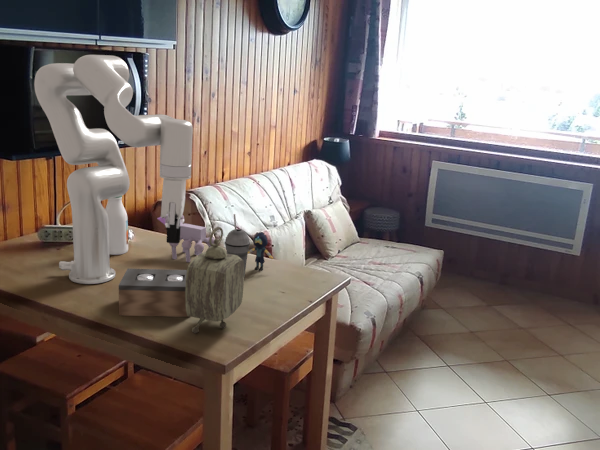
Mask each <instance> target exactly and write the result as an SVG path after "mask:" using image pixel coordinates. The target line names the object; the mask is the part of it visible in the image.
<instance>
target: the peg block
mask: <svg viewBox="0 0 600 450" xmlns="http://www.w3.org/2000/svg"><path fill="white" fill-rule="evenodd" d="M141 274H151V275H153V281H148V280H137V276H138V275H141ZM186 274H187V269H156V268H129V267H128V268H127V269H126V271H125V272H124V274H123V275H122V278H121V280H120V282H119V283H118V314H119V315H118V316H122V317H123V316H125V317H127V316H130V317H133V316H135V317H136V316H137V317H172V318H174V317H175V318H176V317H177V318H178V317H180V318H182V317H183V318H186V317H187V318H189V317H190V316H187V313H186V300H185V289H186ZM170 275H181V276H183V281H167V277H168V276H170Z"/></svg>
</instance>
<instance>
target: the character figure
mask: <svg viewBox="0 0 600 450" xmlns="http://www.w3.org/2000/svg"><path fill="white" fill-rule="evenodd" d="M252 243H253V245H254V246H255V247H253V248H251V249H248V254H247V255H249V254H251V253H253V252H255V251H256V252H255V256H256V257H255V261H254V262H255V263H256V266H255V267H254V270H255V271H257V270H258V271H259V272H261V271H263V270H264V263H265V254H266V255H267V256H268V257H269V259H271V260H273V259H274V257H273V256H272V255H271V253H270V252H269V251H268V249H266V246H267V245H268V244H269V241H268V238H267V235H266V234H264V232H258V233H257V234H255V236H253V240H252ZM264 253H265V254H264Z"/></svg>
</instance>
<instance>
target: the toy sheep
mask: <svg viewBox="0 0 600 450" xmlns="http://www.w3.org/2000/svg"><path fill="white" fill-rule="evenodd" d="M156 219H157V220H158V221H159V222H161V223H162V225H164V226H165V228H166V229H167V227H168V213H167V215H166V217H164V218H162V217H161V216H159V217H157V218H156ZM180 227H181V231H180V241H182V240H183V241H182V242H181V247H182V253H185V254H184V255H185V261H186V263H190V262H191V251H190V249H191V248H192V243H193V241H194V243H195V244H194V246H193V248H194V252H193V254H194V255H195V256H198V255H200V254H202V253H203V251H204V249H205V245H204V244H203V242H204V243H205V244H206V245H207V246H208V248H209V247H211V245H210V242H209V240H210V236H208V237H207V227H206V226H200V225H197V224H196V225H195V224H190V223H185V216H184V215H183V214H182V217H181V218H180ZM215 239H216V238H214V237H213V236H212V240H211V242H212V244H214V240H215ZM168 244H169V246H170V247H171V257H172V260H177V259H178V256H177V254H178V253H177V247H178V245H179V244H180V242H179V243H168Z"/></svg>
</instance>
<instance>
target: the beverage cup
mask: <svg viewBox="0 0 600 450" xmlns="http://www.w3.org/2000/svg"><path fill="white" fill-rule="evenodd" d="M233 224H234V229H232V230H231V231H229V232H228V233H227V234H226V237H225V241H224V245H225V251H226V253H227V254H232V255H237V256H239V257H240V258H241V259H242V260H243V261H244V277H245V276H246V268H247V261H248V260H247V258H248V255H249V254H248V251H249V250H250V249H249V248H250V244H251V241H250V237H249V234H248V233H247V232H246V231H244V230H243V229H239V228H237V219H236V214H235V213H234V214H233Z"/></svg>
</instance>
